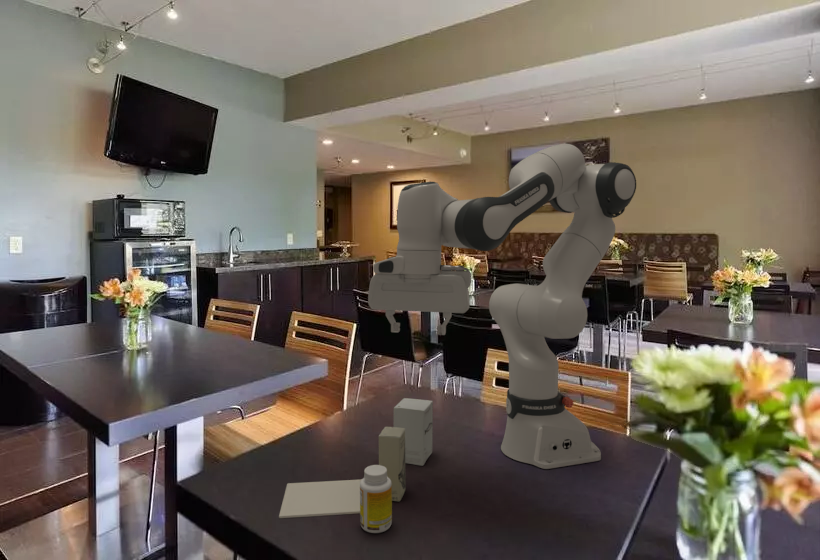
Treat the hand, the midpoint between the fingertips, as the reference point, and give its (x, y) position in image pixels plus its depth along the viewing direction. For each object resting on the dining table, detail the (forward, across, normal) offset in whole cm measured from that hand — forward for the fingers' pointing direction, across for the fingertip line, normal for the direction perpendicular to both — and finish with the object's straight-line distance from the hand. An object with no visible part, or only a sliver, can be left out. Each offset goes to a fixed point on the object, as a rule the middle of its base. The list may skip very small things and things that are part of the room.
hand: (418, 333), depth 103 cm
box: (+31, +4, +6) cm, 32 cm away
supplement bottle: (+32, +4, +17) cm, 36 cm away
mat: (+31, +15, +10) cm, 36 cm away
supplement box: (+31, +3, -11) cm, 33 cm away
